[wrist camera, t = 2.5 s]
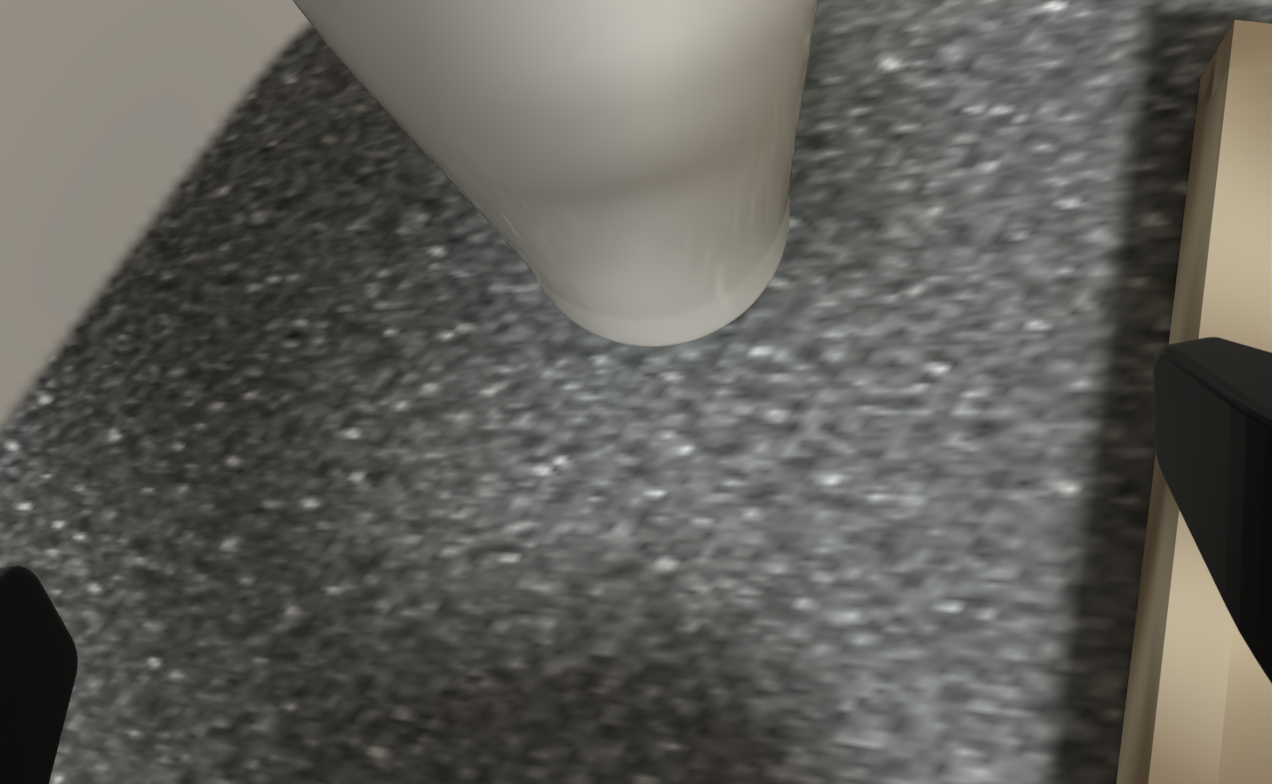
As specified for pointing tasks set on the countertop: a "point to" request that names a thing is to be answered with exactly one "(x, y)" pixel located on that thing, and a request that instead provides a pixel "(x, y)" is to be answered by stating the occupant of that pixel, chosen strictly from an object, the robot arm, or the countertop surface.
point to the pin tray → (1172, 565)
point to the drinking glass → (603, 139)
